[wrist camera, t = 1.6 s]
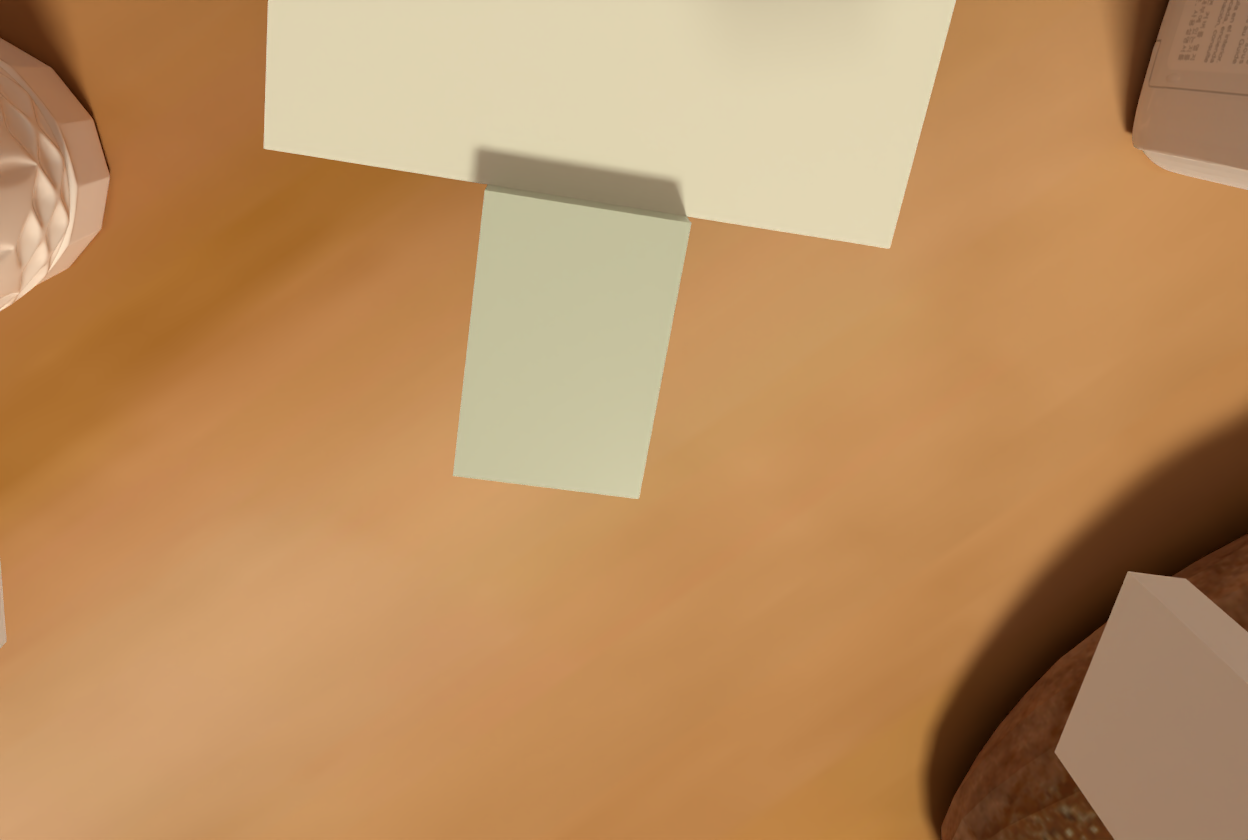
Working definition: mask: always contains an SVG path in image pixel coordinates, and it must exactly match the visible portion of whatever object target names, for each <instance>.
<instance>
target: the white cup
mask: <svg viewBox="0 0 1248 840" xmlns="http://www.w3.org/2000/svg"><path fill="white" fill-rule="evenodd" d="M109 181H110V174H109V171H108V167H107V164H106V161H105V157H104V154H103V150H102V147H101V144H100V140H99V137H98V134H97V130H96V127H95V123H94V120H93V118H92V117H91V116H90V114H89V113H88V112H87V111H86V110H85V108H84V107H83V106H82V105H81V103H80V102H79V101H78V100H77V98H76V97H75V96H74V95H73V93H72V92H71V91H70V90H69V88H68V87H67V86H66V85H65V83H64V82H63V81H62V80H61V78H60V77H59V76H58V75H57V73H56V72H55V71H54V70H53V69H52V68H51V67H50V66H48V65H46V64H44V63H43V62H41V61H39V60H38V59H36V58H34V57H32V56H31V55H29V54H27V53H26V52H24V51H22V50H20V49H19V48H17V47H15V46H14V45H12V44H10V43H8V42H7V41H5V40H3V39H2V38H0V311H1V310H3V309H5V308H6V307H8V306H10V305H11V304H13V303H14V302H15V301H17V300H18V299H19V298H21V297H22V296H23V295H25V294H26V293H27V292H29V291H30V290H31V289H32V288H33V287H35V286H36V285H38V284H40V283H42V282H43V281H45V280H47V279H49V278H51V277H53V276H55V275H56V274H58V273H60V272H62V271H64V270H66V269H67V268H69V267H70V266H71V265H72V263H73V262H74V261H75V260H76V259H77V257H78V256H79V255H80V254H81V253H82V251H83V250H84V249H85V248H86V247H87V245H88V244H89V243H90V242H91V241H92V239H93V238H94V237H95V236H96V235H97V233H98V232H99V231H100V230H101V228H102V222H103V216H104V210H105V205H106V199H107V193H108V187H109Z"/></svg>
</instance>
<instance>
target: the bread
mask: <svg viewBox="0 0 1248 840" xmlns="http://www.w3.org/2000/svg"><path fill="white" fill-rule="evenodd" d="M1171 577H1177V578H1184V579H1187V580H1188V581H1189V582H1190V583H1191V584H1193V585H1194V586H1195V587H1196V588H1197V589H1198V590H1200V591H1201V592H1202V593H1203V594H1204V595H1205V596H1207V597H1208V598H1209V599H1210V600H1211V601H1212V602H1213V603H1215V604H1216V605H1217V606H1218V607H1219V608H1220V609H1222V610H1223V611H1224V612H1225V613H1226V614H1227V615H1228V616H1230V617H1231V618H1232V619H1233V620H1234V621H1235V622H1237V623H1238V624H1239V625H1240V626H1241V627H1242V628H1244V629H1245V630H1246V631H1247V632H1248V534H1246V535H1244V536H1242V537H1240V538H1239V539H1237V540H1235V541H1233V542H1231V543H1229V544H1227V545H1225V546H1224V547H1222V548H1220V549H1218V550H1216V551H1214V552H1212V553H1210V554H1209V555H1207V556H1205V557H1203V558H1201V559H1199V560H1198V561H1196V562H1194V563H1193V564H1191V565H1189V566H1188V567H1186V568H1185V569H1183V570H1181V571H1180V572H1178V573H1176V574H1175V575H1173V576H1171ZM1106 624H1107V622H1106V623H1105V624H1103V625H1102V626H1101V627H1099V628H1098V629H1097V630H1096V631H1094V632H1093V633H1092V634H1091V635H1090V636H1089V637H1087V638H1086V639H1085V640H1083V641H1082V642H1081V643H1079V644H1078V645H1077V646H1076V647H1074V648H1073V649H1072V650H1070V651H1069V652H1068V653H1066V654H1065V655H1064V656H1063V657H1061V658H1060V659H1059V660H1058V661H1057V662H1056V663H1055V664H1054V665H1053V666H1052V667H1051V668H1050V669H1049V670H1048V671H1047V672H1046V673H1045V674H1044V675H1043V676H1042V677H1041V678H1040V679H1039V680H1038V681H1037V682H1036V683H1035V684H1034V686H1033V687H1032V688H1031V689H1030V690H1029V691H1028V692H1027V693H1026V694H1025V695H1024V696H1023V697H1022V699H1021V700H1020V701H1019V702H1018V703H1017V705H1016V706H1015V707H1014V708H1013V709H1012V711H1011V712H1010V713H1009V714H1008V715H1007V717H1006V718H1005V719H1004V720H1003V721H1002V722H1001V724H1000V725H999V726H998V727H997V729H996V730H995V732H994V733H993V735H992V736H991V737H990V739H989V740H988V742H987V743H986V744H985V746H984V747H983V749H982V750H981V751H980V753H979V754H978V756H977V757H976V759H975V761H974V763H973V764H972V766H971V768H970V769H969V771H968V773H967V775H966V776H965V778H964V780H963V782H962V783H961V785H960V787H959V789H958V790H957V792H956V794H955V795H954V797H953V800H952V802H951V805H950V807H949V809H948V812H947V814H946V816H945V819H944V821H943V823H942V826H941V837H942V840H1114V838H1113V837H1112V835H1111V834H1110V832H1109V831H1108V830H1107V828H1106V827H1105V825H1104V824H1103V822H1102V821H1101V819H1100V818H1099V816H1098V815H1097V813H1096V812H1095V811H1094V809H1093V808H1092V806H1091V805H1090V803H1089V802H1088V800H1087V799H1086V797H1085V796H1084V794H1083V793H1082V792H1081V790H1080V789H1079V787H1078V786H1077V784H1076V783H1075V781H1074V780H1073V778H1072V777H1071V775H1070V774H1069V773H1068V771H1067V770H1066V768H1065V767H1064V765H1063V764H1062V762H1061V761H1060V759H1059V758H1058V756H1057V755H1056V754H1055V750H1056V747H1057V745H1058V742H1059V740H1060V737H1061V735H1062V732H1063V730H1064V727H1065V725H1066V722H1067V720H1068V718H1069V715H1070V713H1071V710H1072V708H1073V705H1074V703H1075V700H1076V698H1077V695H1078V693H1079V690H1080V688H1081V686H1082V683H1083V681H1084V678H1085V676H1086V673H1087V671H1088V668H1089V666H1090V663H1091V661H1092V658H1093V656H1094V654H1095V651H1096V649H1097V646H1098V644H1099V641H1100V639H1101V636H1102V634H1103V631H1104V629H1105V626H1106Z"/></svg>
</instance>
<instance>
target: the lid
mask: <svg viewBox="0 0 1248 840" xmlns="http://www.w3.org/2000/svg"><path fill="white" fill-rule="evenodd" d="M955 2H956V0H268V19H267V53H266V87H265V121H264V149H269V150H275V151H282V152H288V153H294V154H300V155H307V156H313V157H319V158H325V159H332V160H338V161H344V162H350V163H357V164H363V165H369V166H375V167H382V168H388V169H394V170H400V171H407V172H413V173H419V174H425V175H432V176H438V177H444V178H450V179H457V180H463V181H469V182H475V183H482V184H488V185H487V187H486V189H485V193H484V202H483V211H482V220H481V229H480V238H479V247H478V256H477V265H476V274H475V282H474V291H473V300H472V309H471V318H470V327H469V336H468V345H467V354H466V363H465V372H464V381H463V390H462V399H461V408H460V417H459V426H458V435H457V444H456V453H455V462H454V471H453V476H458V477H466V478H474V479H482V480H490V481H498V482H506V483H514V484H522V485H530V486H538V487H546V488H554V489H562V490H570V491H578V492H586V493H594V494H602V495H610V496H618V497H626V498H634V499H639V496H640V491H641V485H642V480H643V475H644V470H645V464H646V459H647V454H648V449H649V443H650V438H651V433H652V428H653V422H654V417H655V412H656V407H657V401H658V396H659V391H660V386H661V380H662V375H663V370H664V364H665V359H666V354H667V349H668V343H669V338H670V333H671V328H672V322H673V317H674V312H675V307H676V301H677V296H678V291H679V286H680V280H681V275H682V270H683V265H684V259H685V254H686V249H687V244H688V238H689V233H690V228H691V222H690V221H689V219H688V218H687V216H688V217H694V218H700V219H707V220H713V221H719V222H725V223H732V224H738V225H744V226H750V227H757V228H763V229H769V230H775V231H782V232H788V233H794V234H800V235H807V236H813V237H819V238H825V239H832V240H838V241H844V242H850V243H857V244H863V245H869V246H875V247H882V248H888V249H890V246H891V242H892V238H893V235H894V231H895V227H896V223H897V220H898V216H899V212H900V208H901V205H902V201H903V197H904V193H905V190H906V186H907V182H908V178H909V175H910V171H911V167H912V163H913V160H914V156H915V152H916V148H917V145H918V141H919V137H920V133H921V130H922V126H923V122H924V118H925V115H926V111H927V107H928V103H929V100H930V96H931V92H932V88H933V85H934V81H935V77H936V73H937V70H938V66H939V62H940V58H941V55H942V51H943V47H944V43H945V40H946V36H947V32H948V29H949V25H950V21H951V17H952V14H953V10H954V6H955Z"/></svg>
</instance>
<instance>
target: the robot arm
mask: <svg viewBox="0 0 1248 840" xmlns="http://www.w3.org/2000/svg"><path fill="white" fill-rule="evenodd" d="M5 643H6V629H5V616H4V603H3V590H2V577H1V564H0V648H1V647H2V646H3V645H4V644H5ZM1055 754H1056V755H1057V756H1058V758H1059V759H1060V761H1061V762H1062V764H1063V765H1064V767H1065V768H1066V770H1067V771H1068V773H1069V774H1070V775H1071V777H1072V778H1073V780H1074V781H1075V783H1076V784H1077V786H1078V787H1079V789H1080V790H1081V792H1082V793H1083V794H1084V796H1085V797H1086V799H1087V800H1088V802H1089V803H1090V805H1091V806H1092V808H1093V809H1094V811H1095V812H1096V813H1097V815H1098V816H1099V818H1100V819H1101V821H1102V822H1103V824H1104V825H1105V827H1106V828H1107V830H1108V831H1109V832H1110V834H1111V835H1112V837H1113V838H1114V840H1248V632H1247V631H1246V630H1245V629H1244V628H1242V627H1241V626H1240V625H1239V624H1238V623H1237V622H1235V621H1234V620H1233V619H1232V618H1231V617H1230V616H1228V615H1227V614H1226V613H1225V612H1224V611H1223V610H1222V609H1220V608H1219V607H1218V606H1217V605H1216V604H1215V603H1213V602H1212V601H1211V600H1210V599H1209V598H1208V597H1207V596H1205V595H1204V594H1203V593H1202V592H1201V591H1200V590H1198V589H1197V588H1196V587H1195V586H1194V585H1193V584H1191V583H1190V582H1189V581H1188V580H1187V579H1184V578H1177V577H1169V576H1161V575H1153V574H1145V573H1138V572H1130V571H1128V572H1127V575H1126V577H1125V580H1124V582H1123V585H1122V587H1121V589H1120V592H1119V594H1118V597H1117V599H1116V602H1115V604H1114V607H1113V609H1112V612H1111V614H1110V617H1109V619H1108V621H1107V624H1106V626H1105V629H1104V631H1103V634H1102V636H1101V639H1100V641H1099V644H1098V646H1097V649H1096V651H1095V654H1094V656H1093V658H1092V661H1091V663H1090V666H1089V668H1088V671H1087V673H1086V676H1085V678H1084V681H1083V683H1082V686H1081V688H1080V690H1079V693H1078V695H1077V698H1076V700H1075V703H1074V705H1073V708H1072V710H1071V713H1070V715H1069V718H1068V720H1067V722H1066V725H1065V727H1064V730H1063V732H1062V735H1061V737H1060V740H1059V742H1058V745H1057V747H1056V750H1055Z"/></svg>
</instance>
